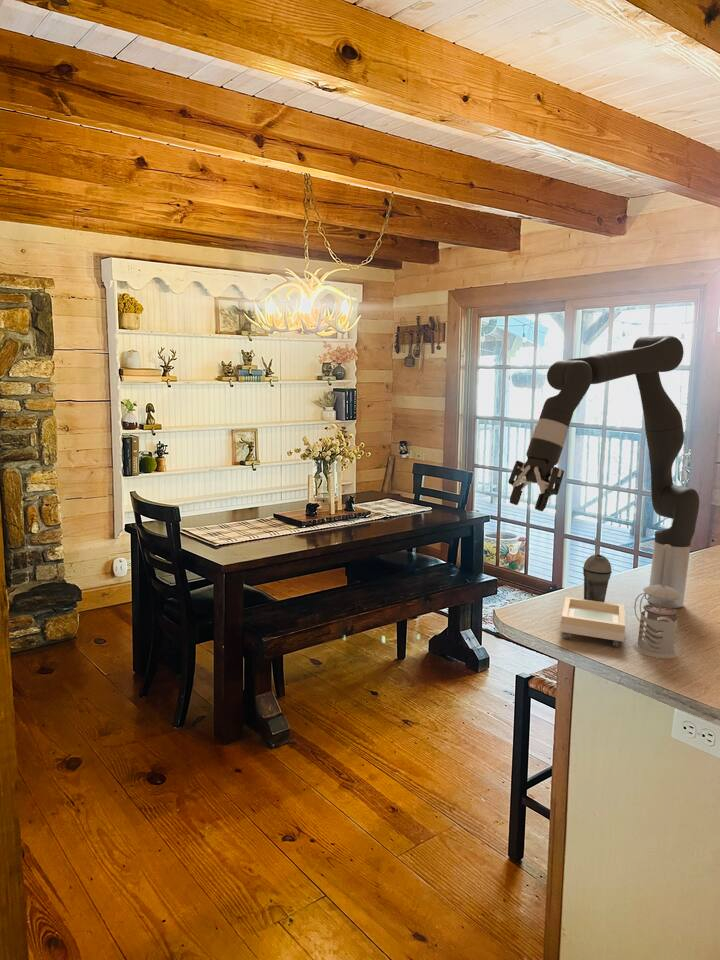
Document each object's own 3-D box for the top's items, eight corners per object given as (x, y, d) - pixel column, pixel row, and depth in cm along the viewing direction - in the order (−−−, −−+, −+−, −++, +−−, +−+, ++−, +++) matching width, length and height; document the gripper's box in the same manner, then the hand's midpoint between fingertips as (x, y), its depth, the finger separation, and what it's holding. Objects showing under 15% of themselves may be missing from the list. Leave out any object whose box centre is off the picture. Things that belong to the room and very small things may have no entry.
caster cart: (563, 618, 181) (565, 596, 180) (621, 627, 177) (623, 605, 176) (559, 639, 166) (561, 616, 165) (622, 649, 162) (625, 625, 161)
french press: (655, 660, 157) (668, 551, 153) (617, 641, 167) (628, 538, 163) (688, 655, 161) (701, 548, 157) (649, 637, 171) (660, 536, 167)
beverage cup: (609, 618, 183) (617, 543, 180) (580, 615, 185) (587, 540, 182) (605, 609, 190) (612, 536, 187) (577, 606, 192) (584, 534, 189)
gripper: (580, 449, 162) (558, 517, 161) (537, 443, 174) (516, 506, 174) (559, 439, 158) (536, 508, 157) (515, 433, 170) (494, 497, 170)
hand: (525, 507), depth 165 cm, fingers open, 8 cm apart
